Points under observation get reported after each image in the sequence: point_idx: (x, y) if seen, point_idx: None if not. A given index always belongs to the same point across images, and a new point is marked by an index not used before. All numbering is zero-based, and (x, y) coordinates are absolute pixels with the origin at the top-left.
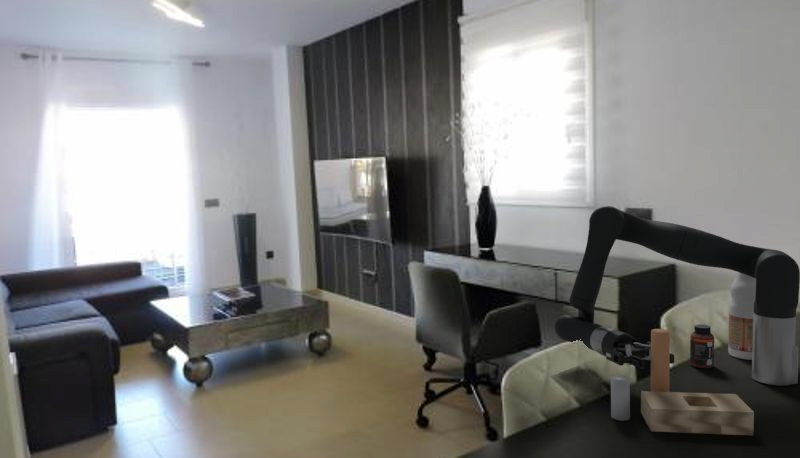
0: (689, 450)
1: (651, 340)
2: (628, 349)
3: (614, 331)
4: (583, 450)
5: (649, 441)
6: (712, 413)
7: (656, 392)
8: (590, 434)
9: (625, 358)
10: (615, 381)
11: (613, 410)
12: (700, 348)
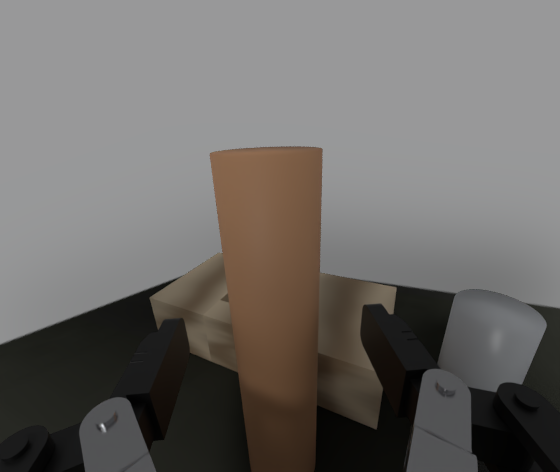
0: None
1: (319, 212)
2: (442, 454)
3: None
4: (551, 308)
5: (407, 306)
6: None
7: (334, 350)
8: (551, 352)
9: (474, 393)
10: (516, 301)
11: None
12: None
